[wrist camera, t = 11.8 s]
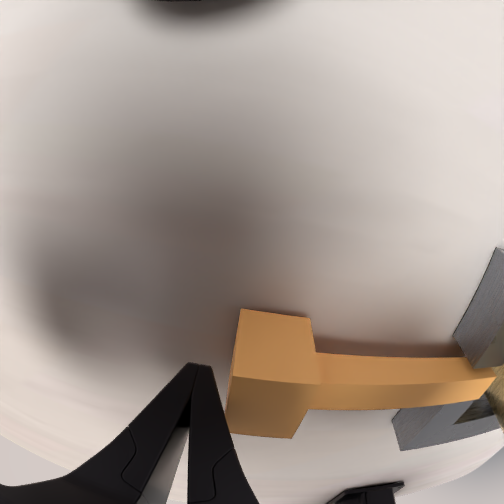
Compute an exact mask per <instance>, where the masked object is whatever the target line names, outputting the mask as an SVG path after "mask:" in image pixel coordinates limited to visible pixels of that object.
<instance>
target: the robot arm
mask: <svg viewBox="0 0 504 504" xmlns="http://www.w3.org/2000/svg"><path fill="white" fill-rule="evenodd" d="M188 433H189V449H188V490H187V504H259V502H258V500H257V499H256V497H255V495H254V493H253V491H252V489H251V487H250V486H249V484H248V481H247V479H246V477H245V475H244V473H243V471H242V468H241V465H240V462H239V460H238V457H237V454H236V450H235V449H234V444H233V441H232V438H231V434H230V431H229V428H228V424H227V421H226V417H225V414H224V410H223V407H222V403H221V400H220V396H219V392H218V389H217V385H216V381H215V378H214V374H213V370H212V367H211V366H208V365H202V364H201V365H199V364H197V363H191V362H188V363H187V364H186V365H185V366H184V367H183V368H182V369H181V370H180V371H179V372H178V373H177V374H176V375H175V377H174V378H173V379H172V380H171V381H170V382H169V383H168V384H167V385H166V386H165V387H164V388H163V389H162V390H161V391H160V392H159V394H158V395H157V396H156V397H155V398H154V399H153V400H152V401H151V402H150V403H149V404H148V405H147V406H146V407H145V408H144V409H143V410H142V411H141V412H140V414H139V415H138V416H137V417H136V418H135V419H134V420H133V421H132V422H131V423H130V424H129V425H128V427H126V428H125V429H124V430H123V431H122V432H121V433H120V434H119V435H118V436H117V437H116V438H115V439H114V440H113V441H112V442H111V443H109V444H108V445H107V446H106V447H105V448H103V449H102V450H101V451H100V452H98V453H97V454H96V455H94V456H93V457H92V458H90V459H89V460H88V461H86V462H85V463H83V464H82V465H81V466H79V467H78V468H77V469H75V470H74V471H72V472H71V473H69V474H67V475H65V476H63V477H60V478H56V479H52V480H47V481H42V482H37V483H32V484H27V485H21V486H5V485H2V484H0V504H166V502H167V498H168V495H169V492H170V489H171V486H172V483H173V480H174V477H175V474H176V470H177V467H178V464H179V461H180V458H181V455H182V452H183V449H184V446H185V443H186V440H187V437H188ZM404 486H405V485H404V482H401V483H395V484H390V485H384V486H377V487H370V488H362V489H353V490H347V491H345V492H343V493H342V494H340V495H339V496H338V497H336V498H335V499H334V500H332V501H331V502H329V503H328V504H396V503H395V498H394V493H395V492H397V491H398V490H400V489H401V488H403V487H404Z"/></svg>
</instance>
